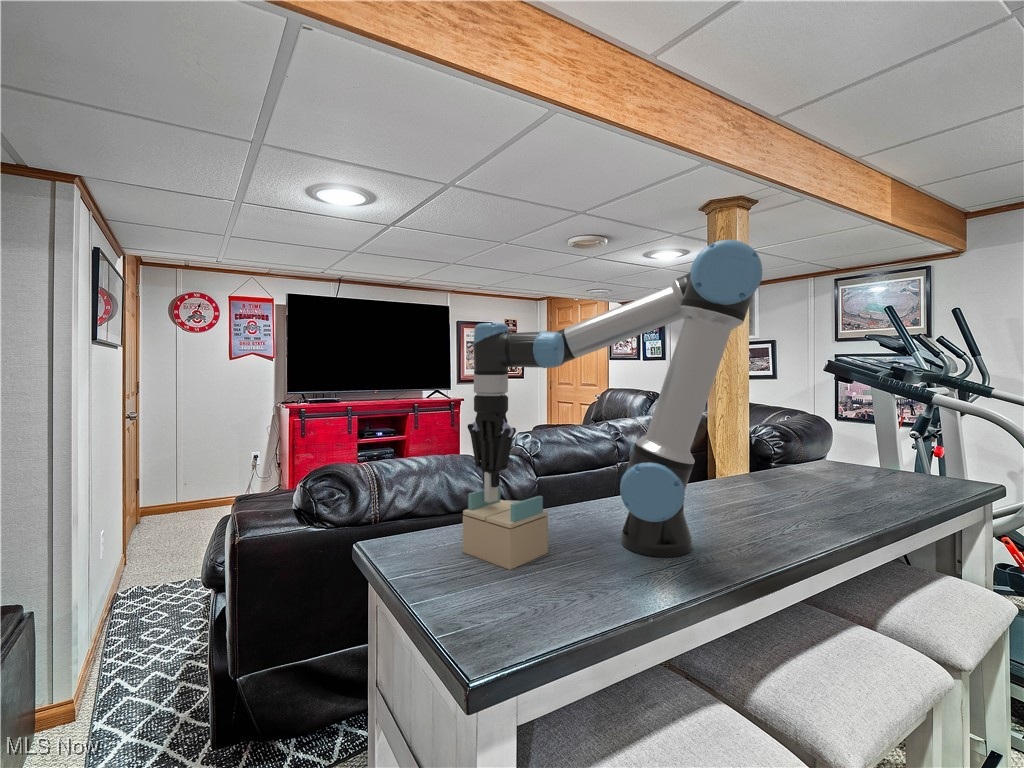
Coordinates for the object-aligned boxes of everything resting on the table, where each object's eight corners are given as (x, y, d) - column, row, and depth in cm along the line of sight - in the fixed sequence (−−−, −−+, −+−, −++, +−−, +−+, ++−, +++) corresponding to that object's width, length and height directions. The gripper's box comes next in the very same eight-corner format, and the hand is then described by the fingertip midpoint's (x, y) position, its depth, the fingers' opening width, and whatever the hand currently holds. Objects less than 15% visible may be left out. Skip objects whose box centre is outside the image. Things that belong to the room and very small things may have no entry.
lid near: (547, 515, 108) (547, 495, 108) (510, 528, 99) (510, 506, 99) (523, 509, 113) (523, 490, 112) (486, 521, 104) (486, 500, 104)
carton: (548, 552, 108) (548, 516, 108) (510, 569, 100) (509, 530, 99) (501, 538, 118) (501, 504, 118) (463, 552, 109) (462, 515, 109)
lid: (522, 508, 113) (522, 489, 113) (484, 520, 104) (484, 500, 104) (500, 503, 118) (500, 484, 117) (463, 514, 109) (462, 494, 109)
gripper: (524, 394, 109) (524, 502, 109) (482, 392, 117) (482, 492, 118) (500, 396, 103) (500, 510, 104) (458, 393, 112) (458, 498, 113)
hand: (491, 500), depth 111 cm, fingers closed
